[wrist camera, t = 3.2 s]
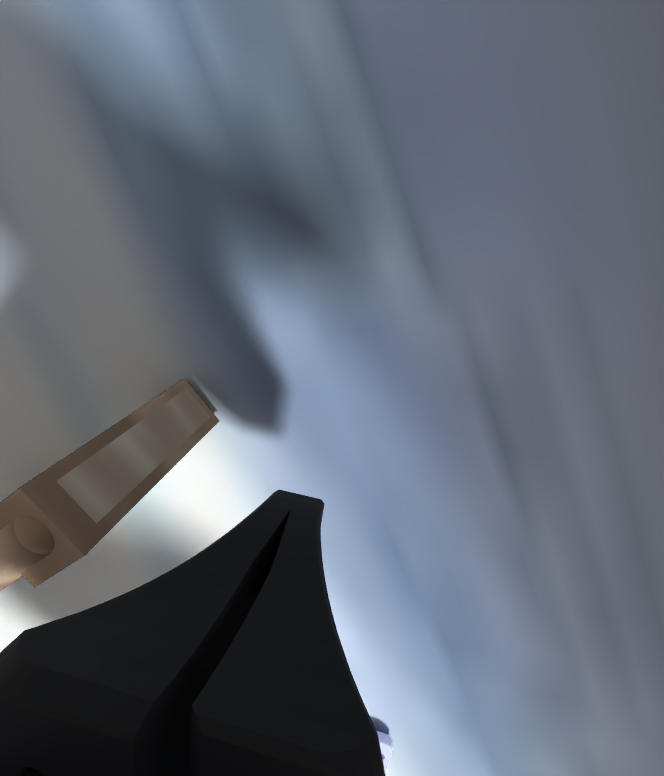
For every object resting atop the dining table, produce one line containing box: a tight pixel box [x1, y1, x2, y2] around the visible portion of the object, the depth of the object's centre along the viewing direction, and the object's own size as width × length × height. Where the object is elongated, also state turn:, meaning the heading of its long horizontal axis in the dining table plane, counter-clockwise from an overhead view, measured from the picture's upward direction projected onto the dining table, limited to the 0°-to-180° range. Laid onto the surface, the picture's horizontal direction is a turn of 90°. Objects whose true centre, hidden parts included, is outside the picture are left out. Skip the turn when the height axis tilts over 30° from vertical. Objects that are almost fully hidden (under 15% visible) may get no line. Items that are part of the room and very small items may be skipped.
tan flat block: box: [0, 378, 219, 590], centre depth 14 cm, size 14×2×7 cm, turn 128°
